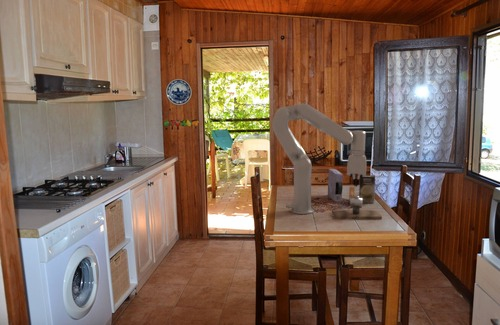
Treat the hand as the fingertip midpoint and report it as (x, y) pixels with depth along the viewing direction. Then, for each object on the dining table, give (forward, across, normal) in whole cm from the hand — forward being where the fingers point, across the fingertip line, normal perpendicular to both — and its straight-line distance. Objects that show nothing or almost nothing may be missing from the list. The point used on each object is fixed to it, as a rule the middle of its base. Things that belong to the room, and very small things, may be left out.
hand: (355, 185), depth 225 cm
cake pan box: (+15, -13, +27) cm, 34 cm away
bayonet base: (+14, +1, -10) cm, 17 cm away
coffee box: (+14, +6, +23) cm, 28 cm away
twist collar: (+8, 0, -6) cm, 10 cm away
